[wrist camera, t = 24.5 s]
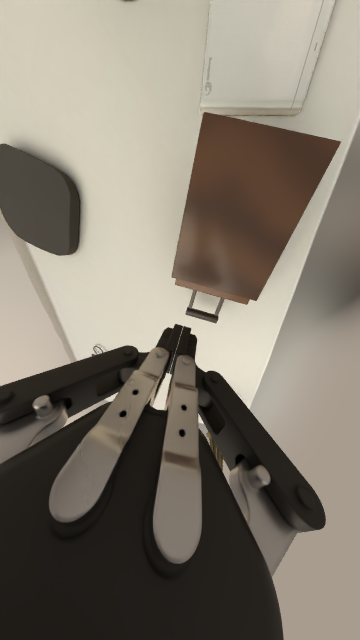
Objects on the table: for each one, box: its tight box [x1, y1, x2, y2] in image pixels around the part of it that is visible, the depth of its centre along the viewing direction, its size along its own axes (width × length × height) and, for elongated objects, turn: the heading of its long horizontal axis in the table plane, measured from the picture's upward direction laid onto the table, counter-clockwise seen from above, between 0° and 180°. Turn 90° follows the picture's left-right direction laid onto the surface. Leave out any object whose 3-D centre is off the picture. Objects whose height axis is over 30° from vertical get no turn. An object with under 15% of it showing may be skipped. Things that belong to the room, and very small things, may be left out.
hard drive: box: [200, 0, 336, 115], centre depth 17 cm, size 2×8×12 cm
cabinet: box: [172, 112, 341, 301], centre depth 21 cm, size 16×13×10 cm
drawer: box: [175, 279, 250, 323], centre depth 24 cm, size 20×12×8 cm, turn 167°
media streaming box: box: [0, 144, 79, 255], centre depth 28 cm, size 15×15×3 cm
